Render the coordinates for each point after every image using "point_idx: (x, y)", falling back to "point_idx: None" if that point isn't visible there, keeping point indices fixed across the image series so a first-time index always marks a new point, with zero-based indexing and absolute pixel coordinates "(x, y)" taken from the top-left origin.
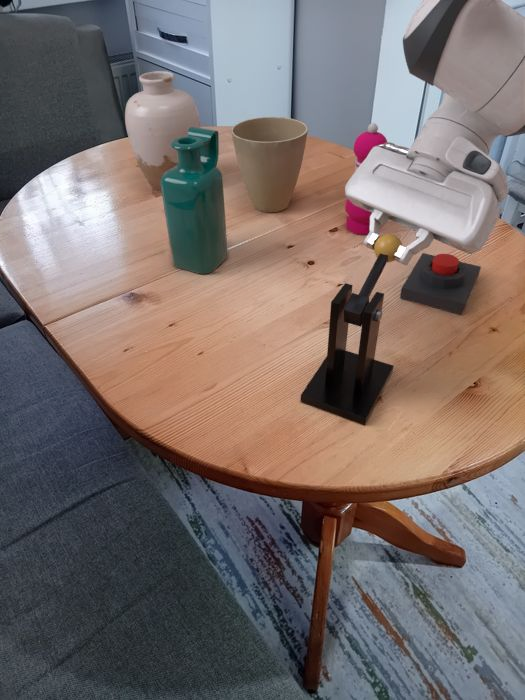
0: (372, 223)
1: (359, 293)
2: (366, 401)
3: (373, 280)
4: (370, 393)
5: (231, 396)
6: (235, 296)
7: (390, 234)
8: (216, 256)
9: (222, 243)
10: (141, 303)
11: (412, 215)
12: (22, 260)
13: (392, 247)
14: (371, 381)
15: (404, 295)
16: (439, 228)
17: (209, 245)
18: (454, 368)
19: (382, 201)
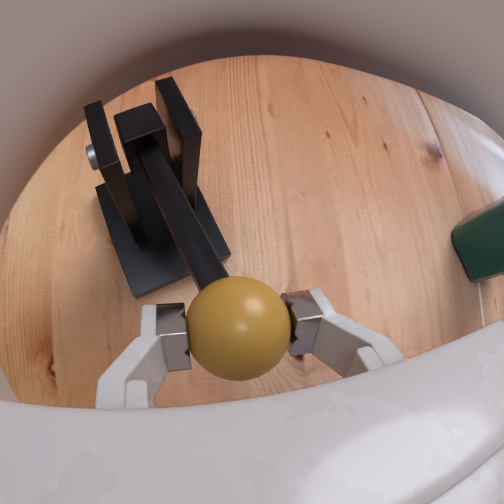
0: (357, 330)
1: (159, 150)
2: (112, 208)
3: (159, 192)
4: (117, 222)
5: (244, 114)
6: (406, 234)
7: (255, 338)
8: (469, 249)
9: (484, 262)
10: (425, 150)
11: (211, 429)
12: (489, 133)
13: (200, 303)
14: (132, 242)
15: None
16: (31, 419)
17: (481, 229)
18: (87, 380)
19: (415, 383)
